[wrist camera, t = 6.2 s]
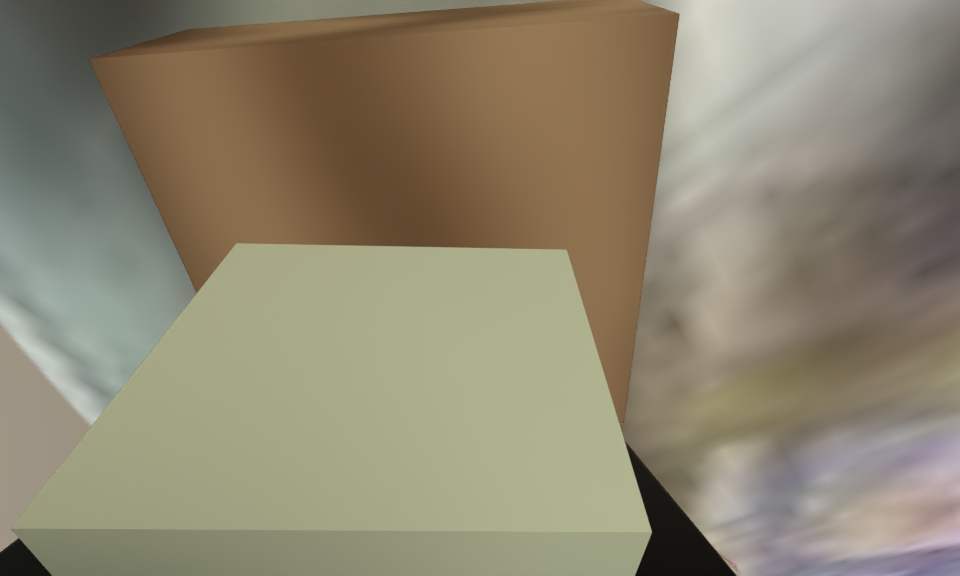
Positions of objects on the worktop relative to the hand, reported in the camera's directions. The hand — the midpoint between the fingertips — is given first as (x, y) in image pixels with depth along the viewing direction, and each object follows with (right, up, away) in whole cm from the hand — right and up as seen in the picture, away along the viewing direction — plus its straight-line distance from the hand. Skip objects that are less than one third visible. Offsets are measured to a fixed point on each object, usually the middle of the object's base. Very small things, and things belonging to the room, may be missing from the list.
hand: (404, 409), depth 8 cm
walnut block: (0, +4, +6) cm, 8 cm away
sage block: (0, +1, +1) cm, 1 cm away
